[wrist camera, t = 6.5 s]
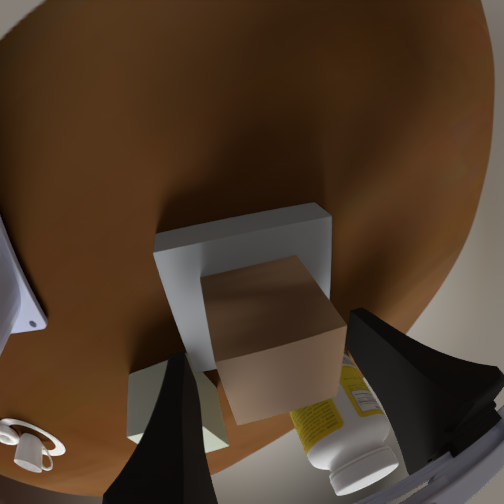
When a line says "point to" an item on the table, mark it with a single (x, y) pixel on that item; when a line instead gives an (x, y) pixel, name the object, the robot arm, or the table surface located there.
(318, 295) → the walnut block
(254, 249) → the slate slab
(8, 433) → the teacup and saucer
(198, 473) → the robot arm
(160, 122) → the table surface
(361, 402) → the supplement bottle
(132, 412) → the sage block
